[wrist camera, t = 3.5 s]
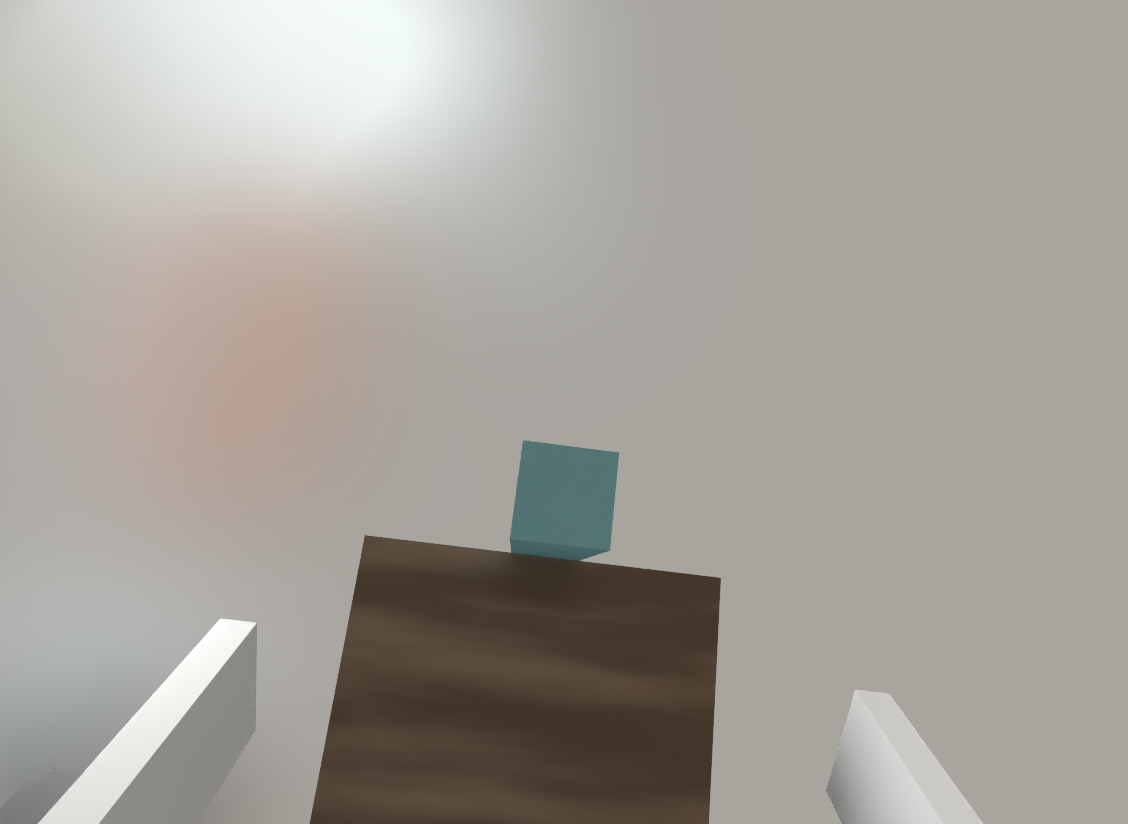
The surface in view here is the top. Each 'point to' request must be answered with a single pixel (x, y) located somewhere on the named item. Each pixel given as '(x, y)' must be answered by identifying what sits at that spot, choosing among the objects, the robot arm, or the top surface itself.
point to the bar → (564, 501)
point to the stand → (520, 692)
